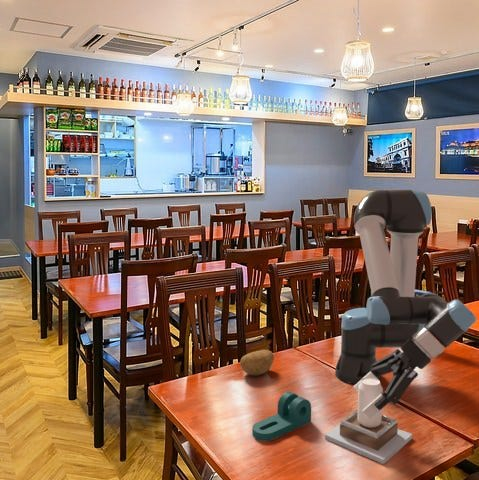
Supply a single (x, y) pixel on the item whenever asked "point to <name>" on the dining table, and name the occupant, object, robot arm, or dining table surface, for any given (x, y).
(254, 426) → the bracket
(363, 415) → the beverage can
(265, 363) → the potato
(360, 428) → the metal collar
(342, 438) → the light gray board
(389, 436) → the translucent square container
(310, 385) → the dining table surface
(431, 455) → the dining table surface
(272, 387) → the dining table surface
